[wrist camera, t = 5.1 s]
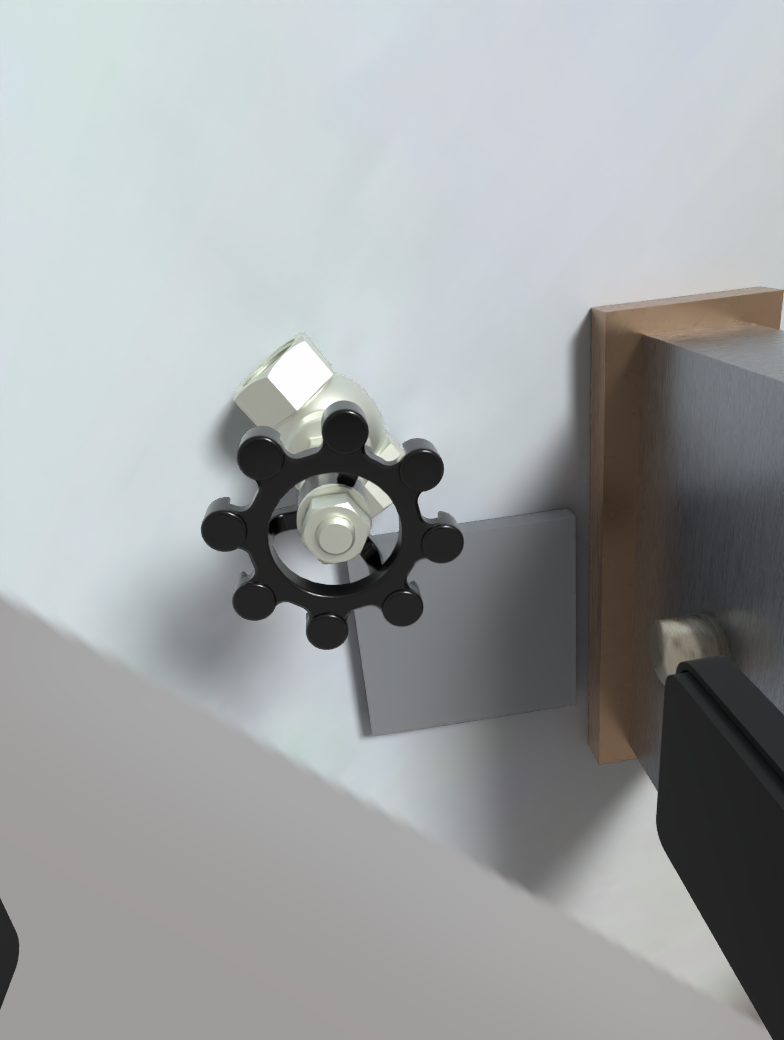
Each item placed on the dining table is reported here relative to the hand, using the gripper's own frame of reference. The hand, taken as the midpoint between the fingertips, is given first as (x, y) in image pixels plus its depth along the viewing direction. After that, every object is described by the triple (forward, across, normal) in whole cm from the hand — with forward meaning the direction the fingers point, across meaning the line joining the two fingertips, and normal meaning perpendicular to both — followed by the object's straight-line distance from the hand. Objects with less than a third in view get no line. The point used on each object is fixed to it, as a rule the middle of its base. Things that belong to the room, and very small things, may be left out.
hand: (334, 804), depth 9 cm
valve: (+21, -1, 0) cm, 21 cm away
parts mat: (+21, -6, +11) cm, 24 cm away
